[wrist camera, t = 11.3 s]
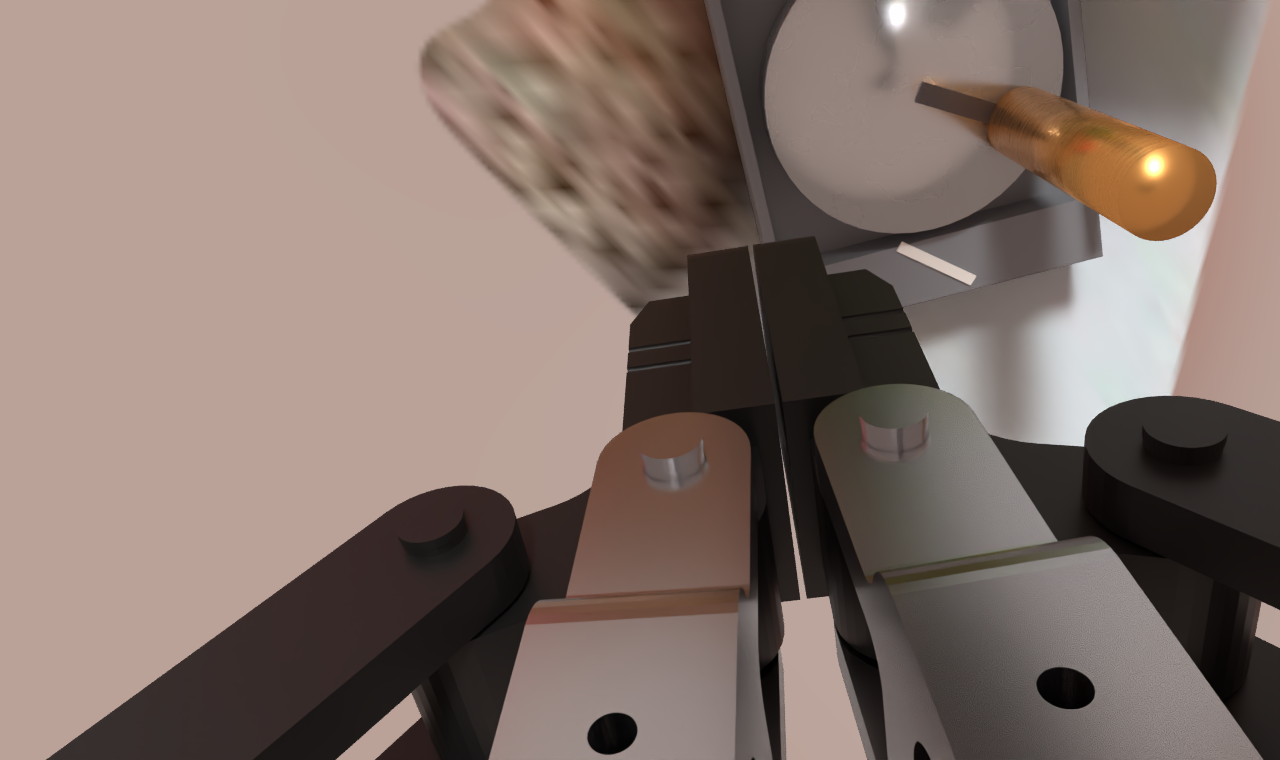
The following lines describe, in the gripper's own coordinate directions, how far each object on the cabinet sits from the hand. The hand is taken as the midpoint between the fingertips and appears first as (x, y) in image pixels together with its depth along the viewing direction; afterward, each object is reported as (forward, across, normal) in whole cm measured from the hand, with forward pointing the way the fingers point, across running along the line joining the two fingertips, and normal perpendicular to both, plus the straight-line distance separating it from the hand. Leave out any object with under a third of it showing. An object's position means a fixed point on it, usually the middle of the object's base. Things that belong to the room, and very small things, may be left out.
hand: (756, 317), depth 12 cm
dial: (+25, -7, +5) cm, 27 cm away
